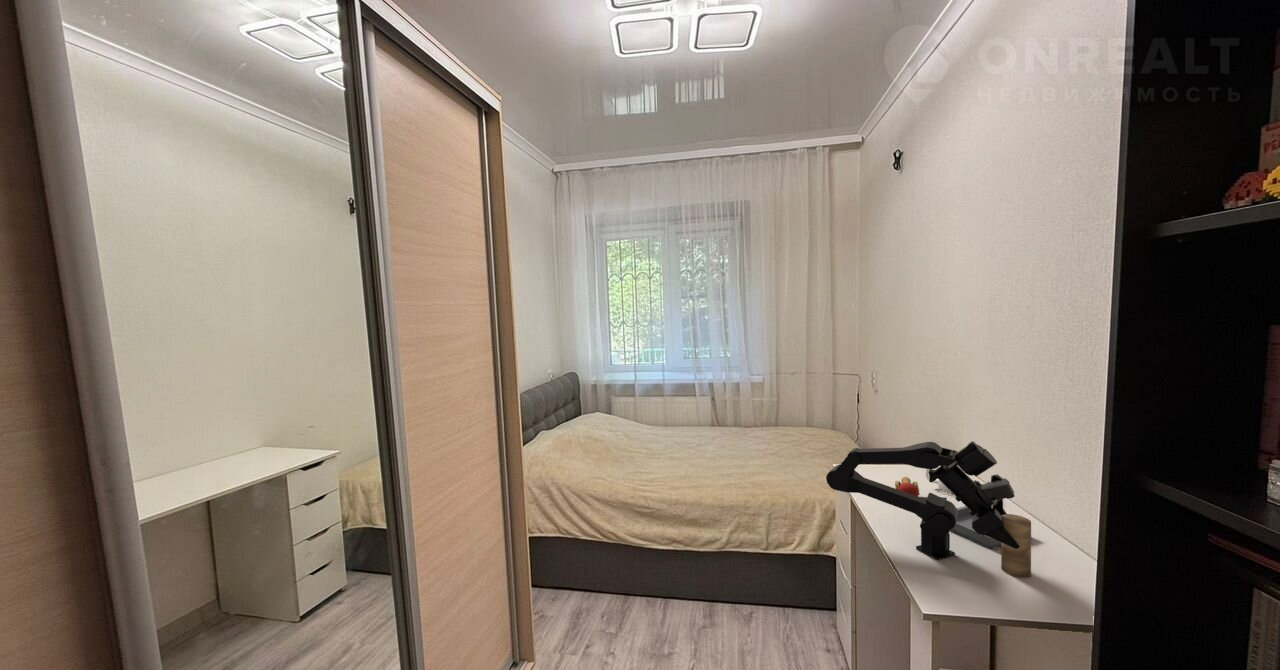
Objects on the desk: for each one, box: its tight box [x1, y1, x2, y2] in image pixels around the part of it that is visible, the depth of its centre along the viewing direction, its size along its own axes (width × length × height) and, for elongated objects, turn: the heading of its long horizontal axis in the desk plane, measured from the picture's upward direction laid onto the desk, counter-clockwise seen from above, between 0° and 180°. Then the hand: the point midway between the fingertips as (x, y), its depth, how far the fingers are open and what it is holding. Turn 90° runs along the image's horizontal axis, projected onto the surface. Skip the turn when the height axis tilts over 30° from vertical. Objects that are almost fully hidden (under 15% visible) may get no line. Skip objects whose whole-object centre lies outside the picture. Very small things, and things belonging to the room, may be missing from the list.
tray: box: [949, 505, 1001, 550], centre depth 133 cm, size 16×16×3 cm
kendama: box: [894, 476, 920, 497], centre depth 160 cm, size 8×6×18 cm
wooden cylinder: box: [1000, 513, 1032, 579], centre depth 113 cm, size 6×6×13 cm
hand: (1017, 539), depth 112 cm, fingers open, 9 cm apart
